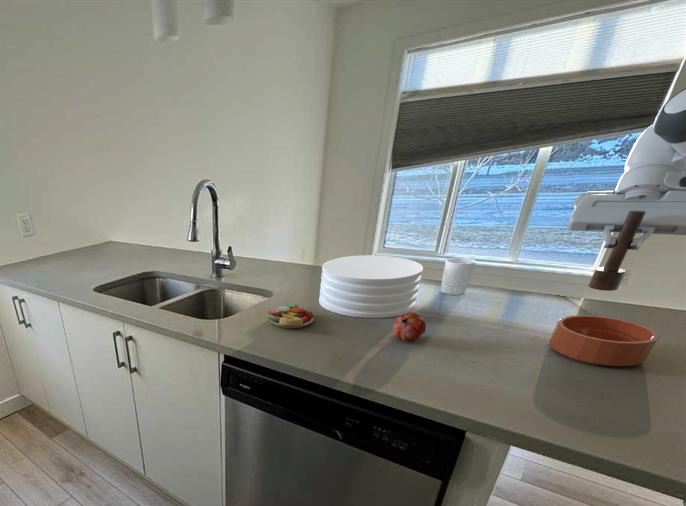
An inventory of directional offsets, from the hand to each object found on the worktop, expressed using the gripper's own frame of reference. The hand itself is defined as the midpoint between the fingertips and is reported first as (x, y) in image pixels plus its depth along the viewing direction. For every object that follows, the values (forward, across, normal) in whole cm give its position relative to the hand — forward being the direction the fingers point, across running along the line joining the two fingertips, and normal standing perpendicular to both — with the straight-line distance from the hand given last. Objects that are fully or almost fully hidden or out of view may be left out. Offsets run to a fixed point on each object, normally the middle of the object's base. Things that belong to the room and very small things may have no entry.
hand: (621, 247), depth 86 cm
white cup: (-2, -32, +32) cm, 45 cm away
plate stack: (+14, -51, +16) cm, 56 cm away
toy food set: (+33, -63, -2) cm, 71 cm away
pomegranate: (+30, -32, +1) cm, 44 cm away
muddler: (+6, 0, +7) cm, 9 cm away
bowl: (+20, +3, +10) cm, 23 cm away
